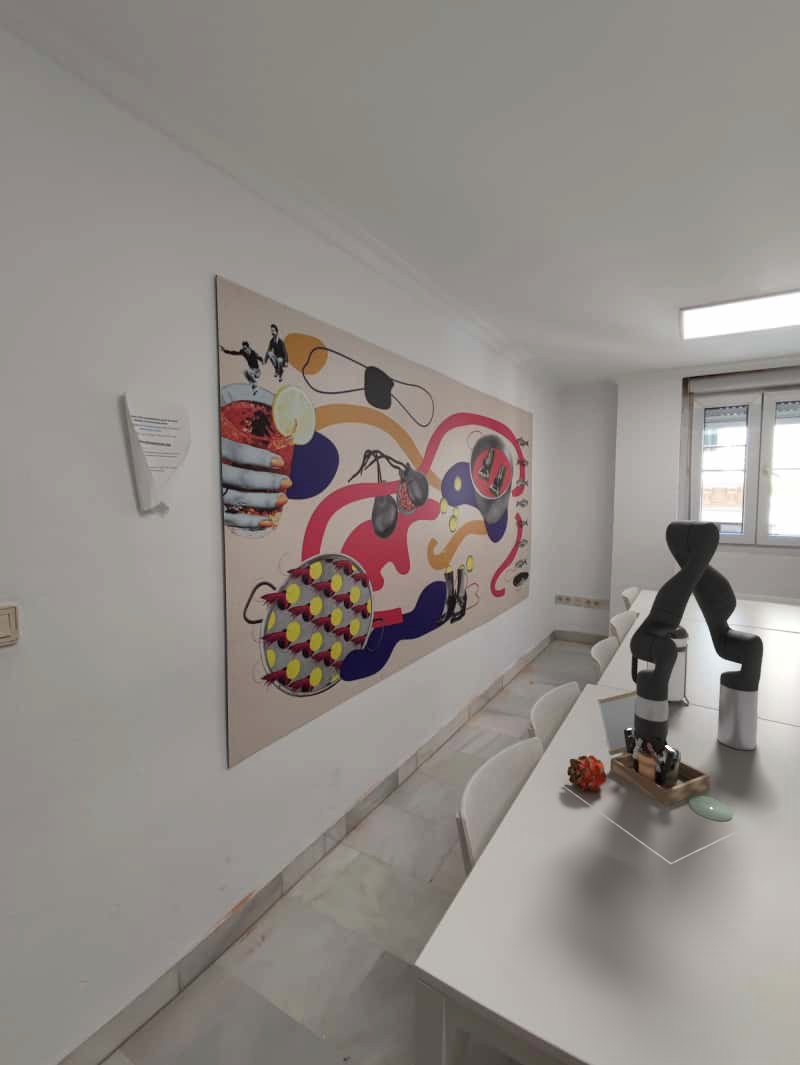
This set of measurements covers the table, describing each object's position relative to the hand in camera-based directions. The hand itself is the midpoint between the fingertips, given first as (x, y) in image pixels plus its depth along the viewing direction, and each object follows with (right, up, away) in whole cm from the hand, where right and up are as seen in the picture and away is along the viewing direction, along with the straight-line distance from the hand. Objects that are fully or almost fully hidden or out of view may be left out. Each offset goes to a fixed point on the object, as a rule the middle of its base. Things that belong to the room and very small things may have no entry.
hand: (648, 778), depth 120 cm
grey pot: (+7, -1, +3) cm, 8 cm away
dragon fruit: (-16, -2, -1) cm, 16 cm away
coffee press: (+32, +1, +52) cm, 61 cm away
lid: (-1, +10, +10) cm, 15 cm away
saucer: (+9, -2, -10) cm, 14 cm away
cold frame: (+2, -1, +5) cm, 5 cm away
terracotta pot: (0, -1, 0) cm, 1 cm away
